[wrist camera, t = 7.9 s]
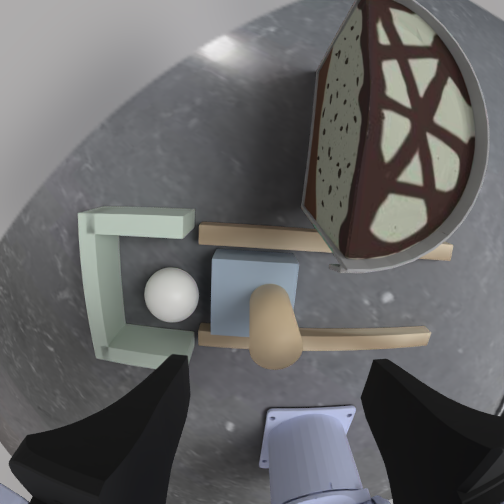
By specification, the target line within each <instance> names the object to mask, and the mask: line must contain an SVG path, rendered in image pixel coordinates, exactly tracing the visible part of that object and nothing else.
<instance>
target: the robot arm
mask: <svg viewBox="0 0 504 504" xmlns="http://www.w3.org/2000/svg"><path fill="white" fill-rule="evenodd" d="M361 400H362V405H363V409H364V413H365V416H366V419H367V422H368V424H369V426H370V429H371V431H372V434H373V436H374V438H375V441H376V443H377V446H378V448H379V450H380V453H381V455H382V458H383V461H384V463H385V467H386V471H387V475H388V479H389V483H390V488H391V493H392V498H393V504H504V417H500V416H495V415H491V414H487V413H484V412H481V411H478V410H475V409H472V408H469V407H467V406H464V405H462V404H460V403H458V402H456V401H453V400H451V399H449V398H447V397H446V396H444V395H442V394H440V393H439V392H437V391H435V390H433V389H432V388H430V387H429V386H427V385H426V384H424V383H422V382H421V381H419V380H418V379H416V378H415V377H414V376H412V375H411V374H409V373H408V372H406V371H405V370H403V369H402V368H400V367H399V366H398V365H396V364H394V363H393V362H391V361H390V360H388V359H376V360H373V363H372V366H371V369H370V372H369V375H368V378H367V381H366V384H365V387H364V390H363V393H362V395H361ZM189 401H190V383H189V366H188V356H187V355H178V354H171V355H170V356H169V357H168V358H167V359H166V360H165V361H164V362H163V363H162V364H161V365H160V366H159V367H158V368H157V369H156V370H155V371H154V372H152V373H151V374H150V375H149V376H148V377H147V378H146V379H145V380H144V381H142V382H141V383H140V384H139V385H138V386H136V387H135V388H134V389H133V390H131V391H130V392H129V393H128V394H126V395H125V396H124V397H122V398H121V399H119V400H118V401H116V402H115V403H113V404H112V405H110V406H108V407H107V408H105V409H103V410H101V411H99V412H97V413H95V414H93V415H91V416H89V417H87V418H85V419H83V420H80V421H78V422H75V423H72V424H70V425H67V426H64V427H61V428H57V429H54V430H50V431H45V432H41V433H36V434H31V435H27V436H26V437H25V439H24V440H23V441H22V443H21V444H20V446H19V447H18V449H17V450H16V452H15V453H14V455H13V456H12V458H11V459H10V461H9V466H10V469H11V471H12V473H13V474H14V475H15V477H16V478H17V479H18V480H19V481H20V483H21V484H22V485H23V486H24V487H25V488H26V489H27V491H28V492H29V493H30V494H31V495H32V496H33V497H32V499H31V501H30V502H29V501H27V500H26V499H25V498H23V497H22V496H20V495H19V494H17V493H15V492H14V491H12V490H11V489H9V488H7V487H6V486H4V485H3V484H1V483H0V504H166V497H167V490H168V484H169V478H170V472H171V467H172V463H173V460H174V456H175V453H176V450H177V447H178V443H179V440H180V437H181V434H182V431H183V427H184V424H185V421H186V417H187V412H188V407H189ZM355 412H356V409H355V407H354V406H339V407H322V408H272V409H269V410H268V411H267V416H266V423H265V429H264V436H263V442H262V449H261V455H260V461H259V467H260V468H269V477H270V494H271V504H391V503H390V502H389V501H388V500H387V499H385V498H382V497H381V496H379V495H377V496H374V497H370V494H369V491H368V488H364V489H363V486H362V483H361V480H360V477H359V474H358V471H357V468H356V464H355V461H354V458H353V455H352V452H351V449H350V446H349V443H348V440H347V437H346V434H347V431H348V429H349V427H350V424H351V422H352V419H353V417H354V414H355Z"/></svg>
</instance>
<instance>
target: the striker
mask: <svg viewBox="0 0 504 504" xmlns="http://www.w3.org/2000/svg"><path fill="white" fill-rule="evenodd" d="M298 269H299V263H298V261H297V259H296V257H295V255H294V254H293V253H281V252H265V251H249V250H233V249H216V251H215V253H214V255H213V258H212V279H211V335H224V336H238V337H249V351H250V355H251V357H252V359H253V360H254V362H255V363H256V364H258V365H259V366H261V367H263V368H266V369H272V370H278V369H283V368H286V367H288V366H290V365H292V364H293V363H295V362H296V361H297V360H298V359H299V357H300V356H301V353H302V350H303V342H302V338H301V335H300V331H299V328H298V325H297V322H296V318H295V315H294V312H293V309H294V302H295V294H296V286H297V278H298Z"/></svg>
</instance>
